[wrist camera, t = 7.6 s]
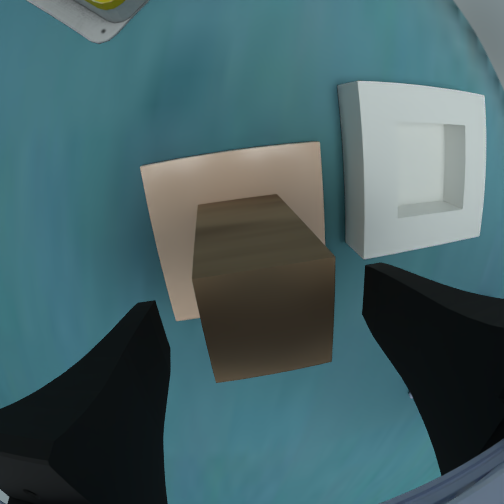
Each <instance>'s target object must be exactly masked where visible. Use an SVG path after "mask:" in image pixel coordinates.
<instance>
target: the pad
mask: <svg viewBox="0 0 504 504" xmlns="http://www.w3.org/2000/svg"><path fill="white" fill-rule="evenodd" d="M140 169H141V174H142V180H143V185H144V190H145V195H146V200H147V205H148V210H149V214H150V219H151V224H152V228H153V233H154V237H155V241H156V246H157V250H158V254H159V258H160V262H161V266H162V270H163V274H164V278H165V282H166V286H167V290H168V293H169V297H170V301H171V305H172V308H173V312H174V315H175V319H176V321H181V320H188V319H195V318H200V315H199V310H198V306H197V301H196V297H195V292H194V288H193V283H192V268H193V255H194V242H195V230H196V219H197V209H198V205H200V204H207V203H213V202H220V201H227V200H234V199H242V198H249V197H256V196H264V195H272V194H277V195H278V196H279V197H280V198H281V199H282V200H283V201H284V202H285V203H286V204H287V205H288V206H289V207H290V208H291V209H292V210H293V211H294V213H295V214H296V215H297V216H298V217H299V218H300V219H301V220H302V221H303V222H304V223H305V224H306V225H307V226H308V227H309V229H310V230H311V231H312V232H313V233H314V234H315V235H316V236H317V237H318V238H319V239H320V241H321V242H322V243H323V244H324V245H325V224H324V201H323V182H322V166H321V152H320V142H318V141H309V142H298V143H287V144H277V145H267V146H259V147H250V148H242V149H235V150H228V151H221V152H214V153H207V154H201V155H195V156H189V157H183V158H177V159H172V160H166V161H161V162H156V163H151V164H146V165H142V166H141V167H140Z"/></svg>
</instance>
